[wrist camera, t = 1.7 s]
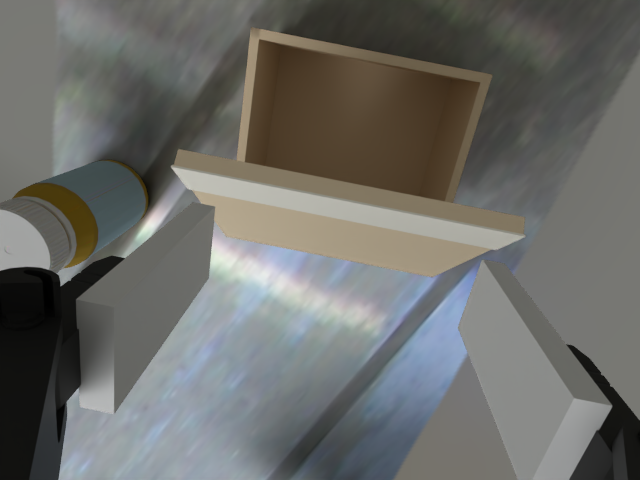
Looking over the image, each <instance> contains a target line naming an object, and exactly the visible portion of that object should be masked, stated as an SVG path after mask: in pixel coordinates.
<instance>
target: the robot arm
mask: <svg viewBox="0 0 640 480" xmlns="http://www.w3.org/2000/svg"><path fill="white" fill-rule="evenodd" d="M214 215H215V206H210V205H205V204H200V203H195V202H193V203H191V204H190V205H189V206H188V207H187V208H185V209H184V210H183V211H182V212H181V213H179V214H178V215H177V216H176V217H175V218H173V219H172V220H171V221H170V222H169V223H167V224H166V225H165V226H164V227H162V228H161V229H160V230H159V231H158V232H156V233H155V234H154V235H153V236H152V237H150V238H149V239H148V240H147V241H146V242H144V243H143V244H142V245H141V246H140V247H138V248H137V249H136V250H135V251H134V252H132V253H131V254H130V255H129V256H128V257H126V258H121V257H116V256H109V257H107V258H104V259H101V260H98V261H95V262H93V263H92V264H90V265H89V266H88V267H86V268H85V269H84V270H82V271H81V273H78V274H77V275H76V276H74V277H73V278H72V279H71V281H68V282H66V283H65V284H64V285H62V286H61V287H60V279H59V275H57V274H56V273H54V272H53V271H51V270H47V269H44V268H39V267H17V268H9V269H5V270H1V271H0V480H58V478H59V471H60V464H61V456H62V449H63V442H64V435H65V428H66V421H67V403H66V401H67V400H68V399H69V398H70V397H71V396H72V395H73V393H74V392H75V391H76V390H77V389H78V388H79V396H80V407H81V408H86V409H91V410H96V411H101V412H106V413H112V414H114V413H115V412H116V411H117V409H118V408H119V406H120V405H121V403H122V402H123V400H124V399H125V398H126V396H127V395H128V393H129V392H130V390H131V389H132V388H133V386H134V385H135V383H136V382H137V380H138V379H139V377H140V376H141V375H142V373H143V372H144V370H145V369H146V367H147V366H148V365H149V363H150V362H151V360H152V359H153V357H154V356H155V354H156V353H157V352H158V350H159V349H160V347H161V346H162V344H163V343H164V342H165V340H166V339H167V337H168V336H169V334H170V333H171V331H172V330H173V329H174V327H175V326H176V324H177V323H178V321H179V320H180V319H181V317H182V316H183V314H184V313H185V311H186V310H187V308H188V307H189V306H190V304H191V303H192V301H193V300H194V298H195V297H196V296H197V294H198V293H199V291H200V290H201V288H202V287H203V285H204V284H205V283H206V281H207V280H208V278H209V268H210V258H211V247H212V237H213V226H214ZM458 329H459V332H460V334H461V337H462V339H463V342H464V344H465V347H466V349H467V352H468V355H469V357H470V359H471V362H472V364H473V367H474V370H475V372H476V375H477V377H478V380H479V382H480V385H481V388H482V390H483V392H484V395H485V398H486V400H487V403H488V405H489V408H490V410H491V413H492V415H493V418H494V421H495V423H496V426H497V428H498V431H499V433H500V436H501V438H502V441H503V443H504V446H505V449H506V451H507V454H508V456H509V459H510V461H511V464H512V466H513V469H514V471H515V474H516V477H517V479H518V480H640V420H639V419H638V418H637V417H636V416H635V414H634V413H633V412H632V411H631V409H630V408H629V407H628V406H627V404H626V403H625V402H624V401H623V399H622V398H621V397H620V396H619V394H618V393H617V392H616V391H615V389H614V388H613V387H610V384H609V382H608V381H607V379H606V378H605V377H604V376H602V375H601V372H600V371H599V370H598V369H597V367H596V366H595V365H594V364H593V362H592V361H591V360H590V359H589V358H588V357H587V356H586V355H584V354H583V353H582V352H580V351H579V350H578V349H577V348H575V347H574V346H572V345H567V344H565V342H564V341H563V340H562V339H561V337H560V336H559V335H558V333H557V332H556V331H555V329H554V328H553V327H552V326H551V324H550V323H549V321H548V320H547V319H546V318H545V316H544V315H543V314H542V312H541V311H540V310H539V308H538V307H537V306H536V304H535V303H534V302H533V300H532V299H531V298H530V296H529V295H528V294H527V292H526V291H525V290H524V288H523V287H522V286H521V285H520V283H519V282H518V281H517V279H516V278H515V277H514V275H513V274H512V273H511V271H510V270H509V269H508V267H507V266H506V265H505V264H504V263H499V262H494V261H489V260H484V259H482V261H481V264H480V267H479V270H478V273H477V275H476V278H475V281H474V284H473V287H472V289H471V292H470V295H469V298H468V301H467V303H466V306H465V309H464V312H463V315H462V317H461V320H460V323H459V326H458Z"/></svg>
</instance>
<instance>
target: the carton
mask: <svg viewBox="0 0 640 480" xmlns="http://www.w3.org/2000/svg"><path fill="white" fill-rule="evenodd" d="M491 79H492V74H487V73H482V72H477V71H471V70H466V69H461V68H456V67H451V66H446V65H441V64H436V63H431V62H426V61H420V60H415V59H410V58H405V57H400V56H395V55H390V54H385V53H380V52H375V51H369V50H364V49H359V48H354V47H349V46H344V45H339V44H334V43H329V42H324V41H319V40H313V39H308V38H303V37H298V36H293V35H288V34H283V33H278V32H273V31H268V30H262V29H257V28H252V27H251V33H250V42H249V51H248V61H247V70H246V79H245V88H244V97H243V106H242V115H241V125H240V134H239V143H238V152H237V161H242V162H247V163H252V164H257V165H262V166H267V167H272V168H277V169H282V170H287V171H292V172H297V173H303V174H308V175H313V176H318V177H323V178H328V179H333V180H338V181H343V182H348V183H353V184H358V185H363V186H368V187H374V188H379V189H384V190H389V191H394V192H399V193H404V194H409V195H414V196H419V197H424V198H429V199H434V200H440V201H445V202H450V203H453V201H454V198H455V194H456V191H457V188H458V185H459V181H460V178H461V175H462V172H463V169H464V165H465V162H466V159H467V156H468V153H469V149H470V146H471V143H472V140H473V136H474V133H475V130H476V127H477V124H478V120H479V117H480V114H481V111H482V108H483V104H484V101H485V98H486V95H487V91H488V88H489V85H490V82H491Z"/></svg>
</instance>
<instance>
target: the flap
mask: <svg viewBox="0 0 640 480" xmlns="http://www.w3.org/2000/svg"><path fill="white" fill-rule="evenodd" d="M171 168H172V169H173V170H174V172H175V173H176V174H177V176H178V177H179V178H180V179H181V181H182V182H183V183H184V185H185V186H186V187H187V189H189V190H192V191H193V192H194V193H195V195H196V196H197V198H198V199H199V200H200V202H201V203H202V204H205V205H210V206H215V215H214V221H215V222H216V223H217V225H218V226H219V227H220V229H221V230H222V231H223V233H224V234H225V236H226V237H231V238H236V239H241V240H246V241H251V242H256V243H261V244H266V245H271V246H277V247H282V248H287V249H292V250H297V251H302V252H307V253H312V254H317V255H322V256H327V257H332V258H337V259H342V260H347V261H352V262H357V263H363V264H368V265H373V266H378V267H383V268H388V269H393V270H398V271H403V272H408V273H413V274H418V275H423V276H428V277H434V276H436V275H438V274H440V273H442V272H445V271H447V270H449V269H451V268H453V267H455V266H457V265H459V264H461V263H464V262H466V261H468V260H470V259H472V258H474V257H476V256H478V255H481V254H483V253H485V252H487V251H489V250H491V249H493V250H498V249H500V248H502V247H504V246H506V245H509V244H511V243H513V242H515V241H517V240H520V239H522V238H524V237H526V235H525V234H524V223H525V217H521V216H516V215H511V214H505V213H500V212H495V211H490V210H485V209H480V208H475V207H470V206H465V205H460V204H455V203H450V202H445V201H440V200H434V199H429V198H424V197H419V196H414V195H409V194H404V193H399V192H394V191H389V190H384V189H379V188H374V187H368V186H363V185H358V184H353V183H348V182H343V181H338V180H333V179H328V178H323V177H318V176H313V175H308V174H303V173H297V172H292V171H287V170H282V169H277V168H272V167H267V166H262V165H257V164H252V163H247V162H242V161H237V160H232V159H226V158H221V157H216V156H211V155H206V154H201V153H196V152H191V151H186V150H181V149H178V152H177V155H176V159H175V162H174V165H171Z"/></svg>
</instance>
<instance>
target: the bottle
mask: <svg viewBox="0 0 640 480" xmlns="http://www.w3.org/2000/svg"><path fill="white" fill-rule="evenodd" d="M147 207H148V194H147V190H146V187H145V185H144V183H143V181H142V179H141V178H140V176H139V175H138V174H137V173H136V172H135V171H134V170H133V169H131V168H130V167H128V166H127V165H125V164H123V163H121V162H118V161H114V160H101V161H97V162H93V163H91V164H88V165H85V166H82V167H80V168H77V169H74V170H71V171H69V172H66V173H63V174H60V175H57V176H55V177H52V178H49V179H46V180H44V181H41V182H38V183H35V184H33V185H31V186H28V187H26V188H24V189H22V190H20V191H19V192H18V193H17V194H16V195H15V196H14V197H13V198H12V199H11V200H8V201H5V202H2V203H0V271H1V270H5V269H9V268H17V267H39V268H44V269H47V270H51V271H53V272H54V273H58V272H59V271H60V270H61V269H62V268H68V267H72V266H75V265H77V264H79V263H81V262H82V261H84V260H86V259H87V258H89V257H90V256H92V255H93V254H94V253H96V252H97V251H99V250H100V249H101V248H103V247H104V246H106V245H107V244H109V243H110V242H111V241H113V240H114V239H116V238H117V237H118V236H120V235H121V234H123V233H124V232H125V231H127V230H128V229H130V228H131V227H132V226H134V225H135V224H136V223H137V222H138V221H139V220H141V219H142V218H143V216H144V214H145V212H146V210H147Z"/></svg>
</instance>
